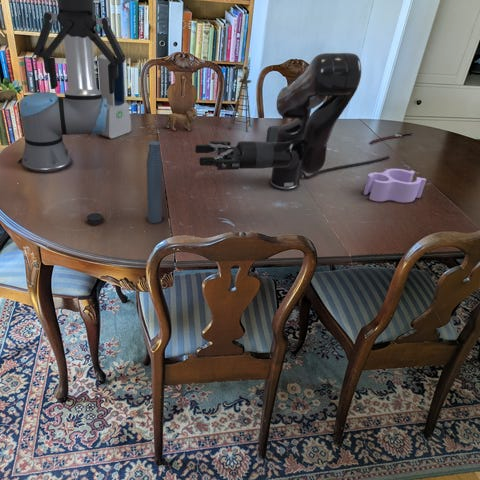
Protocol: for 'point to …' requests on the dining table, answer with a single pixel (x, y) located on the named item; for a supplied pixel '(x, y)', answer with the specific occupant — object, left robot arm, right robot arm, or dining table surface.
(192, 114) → the lion figurine
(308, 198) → the dining table surface
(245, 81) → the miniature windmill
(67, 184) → the dining table surface
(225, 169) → the right robot arm
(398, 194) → the clip
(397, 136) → the sword
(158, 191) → the bottle
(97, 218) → the cap
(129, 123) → the electronic device
